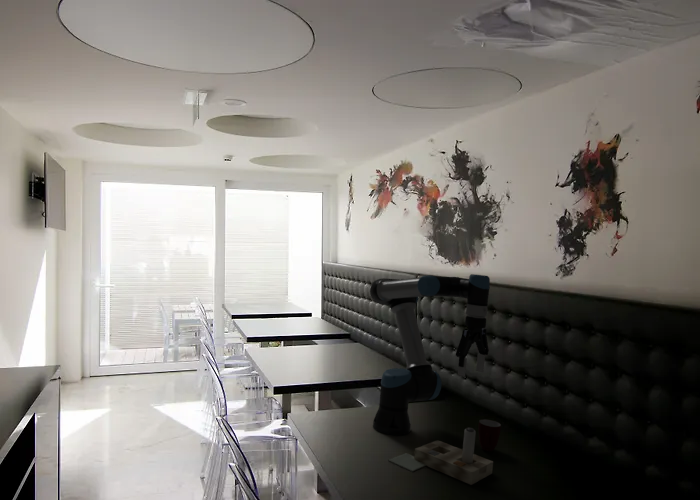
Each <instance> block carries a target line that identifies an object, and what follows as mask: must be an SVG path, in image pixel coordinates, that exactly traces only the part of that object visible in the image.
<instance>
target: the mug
mask: <svg viewBox="0 0 700 500" xmlns="http://www.w3.org/2000/svg"><path fill="white" fill-rule="evenodd" d="M477 426H478V427H477V428H478V440H479V444H480V445H479V446H480V447H481V449H482V450H483V451H485V452H490V453H491V452H493V451H494V450H495V449H496V447H497V445H498V442H499V439H500V435H501V431H502V430H501V428H502V425H501V423H500V422H498V421H495V420H491V419H486V418H485V419H484V418H483V419H479V421H478V425H477Z"/></svg>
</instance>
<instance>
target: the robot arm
mask: <svg viewBox="0 0 700 500" xmlns="http://www.w3.org/2000/svg"><path fill="white" fill-rule="evenodd" d="M490 280H491V279H490V276H488V275H483V274H473V273H472V274H470V275H469V277H468V278H465V277H464V278H463V277H459V276H440V275H439V276H438V275H431V274H429V275H421V276H420V277H412V278H405V279H404V278H401V279H400V278H399V279H398V278H397V279H396V278H395V279H394V278H385V277H384V278H379V279H376V280H374V281H373V282H372V283H371V285H370V288H369V295H370V297H371V299H372V300H373V301H374V302H375V303H377V304H378V305H385V306H386V305H389V307H390V311H391V312H392V313H393V314H395V319H396V323H397V324H396V325H397V329H398V332H399V337H400V340H401V345H402V350H403V353H404V354H403V355H404V359H405V363H406V368H401V367H400V368H398V367H396V368H394V367H393V368H389V369H386V370H384V372H383V373H382V376H381V380H380V390H379V391H380V392H379V393H380V394H379V403H378V409H377V412H376V414H375V416H374V419H373V420H372V421H373V422H372V428H373V429H374V430H376V431H377V432H378V433H379V432H380V433H381V434H385V435H389V436H390V435H391V436H404V435H408V434H410V432H411V427H412V425H411V421H410V416H409V403H410V402H412V403H413V402H421V401H426V402H427V401H430V400H435V399H436V398H437V397H438V396H439V395H440V393H441V390H442V379H441V376H440V374H439V373H438V372H437V371H435V370H434V369H433V366H432V364H431V363H429V362H427V357H426V353H425V349H424V344H423V340H422V336H421V333H420V329H419V325H418V321H417V316H416V312H415V309H416V308H417V304H418V302H419V298H423V297H451V298H463V299H466V309H465V310H466V311H465V315H466V316H465V320H464V326H466V327H467V330H466V329H463V330H462V332H461V337H460V340H459V343H458V347H457V349H456V353H455V356H456V357H457V358H459V359H458V367H457V376H460V377H464V378H465V377H466V374H467V373H466V371H467V363H468V362H467V360H468V358H467V355H468V354H469V351H470V349H471V347H472V345H473V344H475V345H476V348H477V350H478V353H477V356H476V357H477V358H476V366H475V367H476V369H475V371H476V372H480V373H484V370H485V358H486V356H489V355H488V354H489V349H490V348H489V344H488V335H487V328H486V327H487V318H486V317H487V315H488V311H489V310H488V304H489V295H490V294H489V293H490V287H491V286H490V282H491V281H490Z"/></svg>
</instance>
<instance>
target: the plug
mask: <svg viewBox="0 0 700 500" xmlns="http://www.w3.org/2000/svg"><path fill="white" fill-rule="evenodd" d="M463 431H464V433H463V443H462V450H463V452H462V462H464V463H466V464H469V465H470V464H472V463H473V455H474V454H475V445H476V444H475V442H476V430H475V429H474V428H473V427H466V428H465V429H464V430H463Z"/></svg>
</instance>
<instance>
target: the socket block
mask: <svg viewBox="0 0 700 500" xmlns="http://www.w3.org/2000/svg"><path fill="white" fill-rule="evenodd" d="M462 452H463V448H460V447H456V446H453V445H451V444H449V443H446V442H444V441H441V440H438V439H437V440H433V441H431V442H429V443H427V444H423V445H422V446H419V447H416V448H414V455H413V456H414V459H415V460H417V461H419V462H422V463H424V464H426V466H425V467H428V468H430V469H433V470H435V471H438V472H441V473H442V474H445V475H447V476H449V477H452V478H454V479H456V480H458V481H461V482H463V483H466V484H467V485H470V486H472V485H474V484H476V483H477V482H479V481H482V480H483V479H484V478H487V477H488V476H490V475H492V474H493V468H494V461H493V460H490V459H488V458H485V457H482V456H480V455H477V454H475V453H474V455H473V463H472V464H470V465H469V464H466V463H464V462H462Z"/></svg>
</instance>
